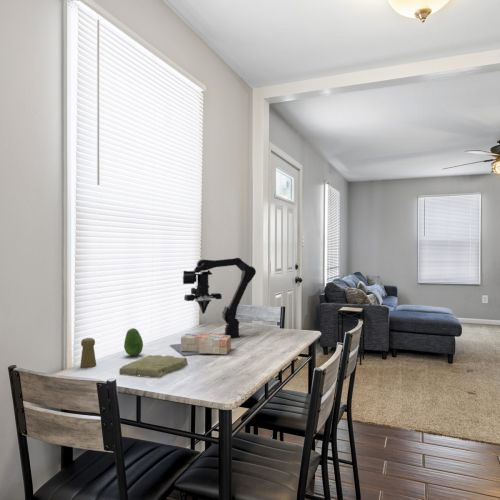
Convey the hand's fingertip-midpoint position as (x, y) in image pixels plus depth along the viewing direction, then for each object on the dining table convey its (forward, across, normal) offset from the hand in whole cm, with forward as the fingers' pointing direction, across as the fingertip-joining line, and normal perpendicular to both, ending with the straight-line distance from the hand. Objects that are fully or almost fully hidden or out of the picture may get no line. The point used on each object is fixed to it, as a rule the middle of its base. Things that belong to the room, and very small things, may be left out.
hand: (203, 313), depth 214 cm
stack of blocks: (+10, +5, +22) cm, 25 cm away
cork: (+13, +58, +28) cm, 66 cm away
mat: (+13, +14, +20) cm, 28 cm away
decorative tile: (+14, +35, +45) cm, 59 cm away
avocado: (+13, +39, +20) cm, 46 cm away
